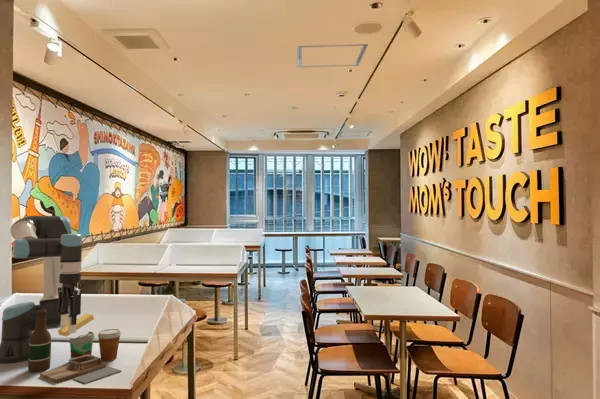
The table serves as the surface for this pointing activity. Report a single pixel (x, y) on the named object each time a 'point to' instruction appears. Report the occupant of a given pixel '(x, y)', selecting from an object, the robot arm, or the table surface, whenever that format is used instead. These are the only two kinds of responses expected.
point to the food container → (81, 345)
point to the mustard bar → (77, 324)
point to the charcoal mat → (96, 375)
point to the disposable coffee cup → (109, 343)
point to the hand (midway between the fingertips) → (68, 331)
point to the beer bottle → (39, 345)
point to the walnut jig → (74, 369)
